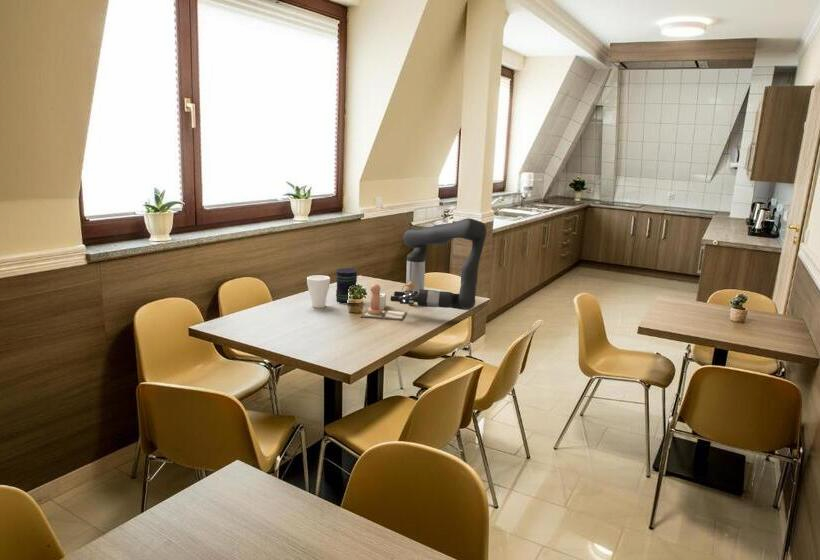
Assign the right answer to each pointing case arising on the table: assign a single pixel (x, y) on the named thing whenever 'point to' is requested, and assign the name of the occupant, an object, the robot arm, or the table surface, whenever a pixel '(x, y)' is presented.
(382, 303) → the die
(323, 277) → the cup
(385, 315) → the game board
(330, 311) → the table surface
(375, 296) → the pawn
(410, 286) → the figurine
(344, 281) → the storage jar
